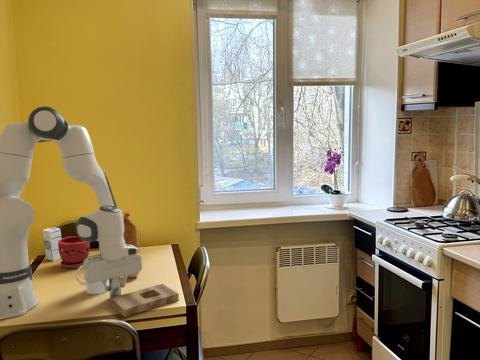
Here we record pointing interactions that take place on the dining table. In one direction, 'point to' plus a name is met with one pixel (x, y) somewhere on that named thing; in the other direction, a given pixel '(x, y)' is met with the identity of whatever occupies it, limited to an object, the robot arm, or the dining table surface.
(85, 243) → the plant pot
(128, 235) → the coffee package
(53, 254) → the syrup box
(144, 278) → the dining table surface
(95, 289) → the mug
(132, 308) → the plate
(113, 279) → the peg
